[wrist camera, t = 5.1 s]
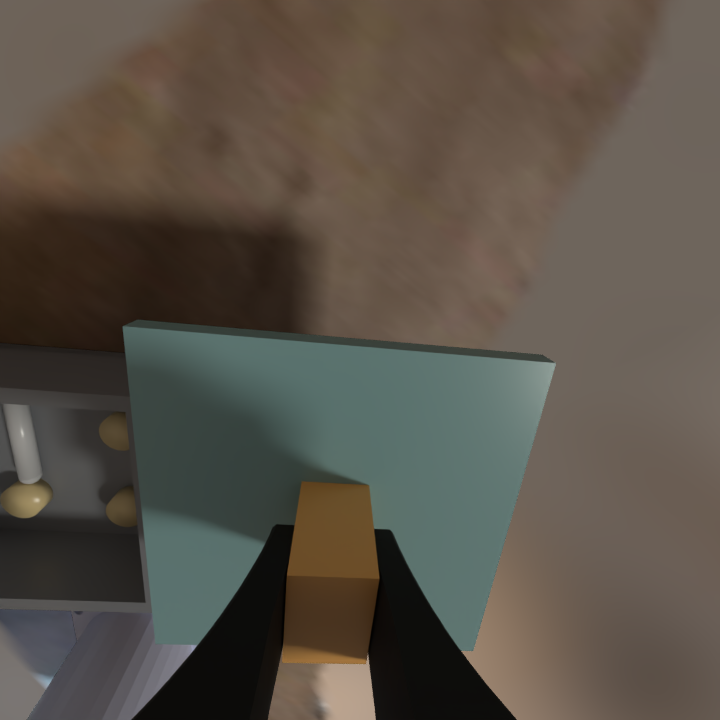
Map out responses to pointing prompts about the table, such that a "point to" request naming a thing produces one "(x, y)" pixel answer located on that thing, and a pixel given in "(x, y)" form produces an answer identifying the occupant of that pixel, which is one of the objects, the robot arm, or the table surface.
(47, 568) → the parts tub
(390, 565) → the robot arm
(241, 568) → the lid
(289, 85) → the table surface
